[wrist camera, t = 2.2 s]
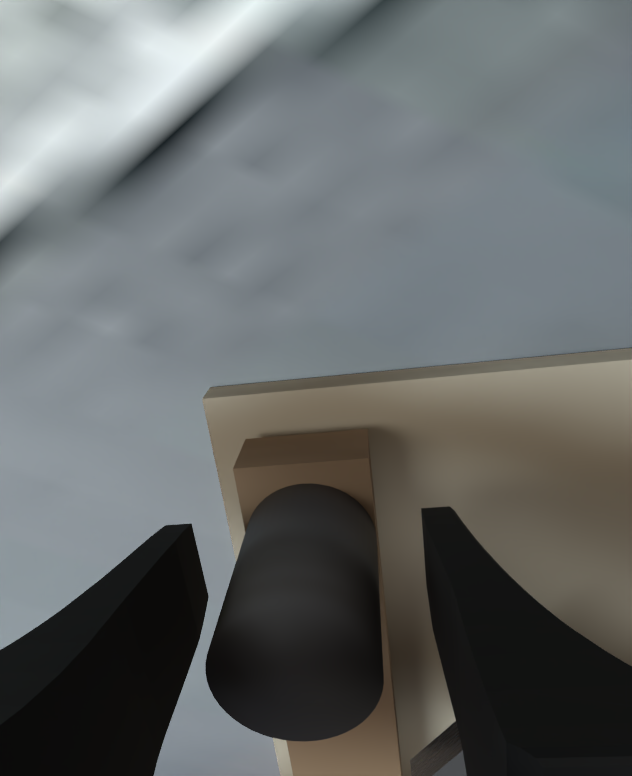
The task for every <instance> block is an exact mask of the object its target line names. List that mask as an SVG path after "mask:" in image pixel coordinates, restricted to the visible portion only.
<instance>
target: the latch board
mask: <svg viewBox="0 0 632 776" xmlns="http://www.w3.org/2000/svg"><path fill="white" fill-rule="evenodd" d="M202 400H203V405H204V409H205V414H206V419H207V424H208V429H209V433H210V438H211V443H212V448H213V453H214V457H215V462H216V467H217V472H218V477H219V482H220V486H221V491H222V496H223V501H224V506H225V510H226V515H227V520H228V525H229V530H230V535H231V539H232V544H233V549H234V554H235V559H236V561H237V558H238V555H239V552H240V549H241V545H242V542H243V539H244V536H245V528H244V523H243V518H242V513H241V508H240V503H239V498H238V493H237V488H236V482H235V477H234V472H233V467H234V465H235V462H236V460H237V458H238V455H239V453H240V451H241V448H242V446H243V443H244V441H245V439H251V438H263V437H275V436H287V435H299V434H311V433H324V432H336V431H348V430H360V429H368V438H369V448H370V458H371V468H372V477H373V487H374V497H375V507H376V517H377V527H378V537H379V547H380V556H381V566H382V576H383V586H384V596H385V606H386V616H387V626H388V635H389V645H390V655H391V665H392V675H393V685H394V695H395V705H396V714H397V724H398V734H399V744H400V754H401V764H402V774H403V776H411V764H410V760H411V759H412V758H413V757H414V756H415V755H417V754H418V753H419V752H420V751H421V750H422V749H424V748H425V747H426V746H427V745H428V744H429V743H431V742H432V741H433V740H434V739H435V738H436V737H438V736H439V735H440V734H441V733H442V732H443V731H445V730H446V729H447V728H448V727H449V726H450V725H452V724H453V723H454V722H455V721H456V719H455V715H454V711H453V707H452V704H451V700H450V696H449V692H448V688H447V684H446V680H445V676H444V672H443V668H442V664H441V660H440V656H439V652H438V649H437V645H436V641H435V637H434V633H433V629H432V622H431V615H430V608H429V600H428V593H427V586H426V572H425V558H424V543H423V529H422V514H421V508H433V507H448V506H450V507H451V508H452V509H453V510H455V512H456V513H457V515H458V516H459V517H460V519H461V520H462V522H463V523H464V524H465V526H466V527H467V528H468V530H469V531H470V532H471V533H472V534H473V536H474V537H475V538H476V539H477V541H478V542H479V543H480V544H481V545H482V546H483V548H484V549H485V550H486V551H487V552H488V553H489V554H490V555H491V556H492V557H493V559H494V560H495V561H496V562H497V563H498V564H499V565H500V566H501V567H502V568H503V569H504V570H505V571H506V572H507V573H508V574H509V575H510V576H511V577H512V578H513V579H514V580H515V581H516V582H517V583H518V584H519V585H520V586H521V587H522V588H523V589H524V590H525V591H527V592H528V593H529V594H530V595H531V596H532V597H533V598H534V599H536V600H537V601H538V602H539V603H540V604H541V605H543V606H544V607H545V608H546V609H547V610H549V611H550V612H551V613H552V614H554V615H555V616H556V617H557V618H559V619H560V620H561V621H563V622H564V623H565V624H567V625H568V626H569V627H571V628H572V629H574V630H575V631H577V632H578V633H580V634H581V635H583V636H584V637H586V638H587V639H589V640H590V641H592V642H593V643H595V644H596V645H598V646H599V647H601V648H602V649H604V650H605V651H607V652H608V653H610V654H612V655H613V656H615V657H617V658H618V659H620V660H622V661H623V662H625V663H627V664H629V665H630V666H632V348H626V349H616V350H605V351H594V352H584V353H573V354H562V355H552V356H541V357H530V358H520V359H509V360H498V361H488V362H477V363H466V364H456V365H445V366H434V367H423V368H413V369H402V370H391V371H381V372H370V373H359V374H349V375H338V376H327V377H317V378H306V379H295V380H285V381H274V382H263V383H253V384H242V385H231V386H221V387H210V388H209V390H208V391H207V393H206V394H205V396H204V397H203V399H202ZM273 741H274V746H275V751H276V756H277V761H278V766H279V770H280V775H281V776H293V772H292V767H291V762H290V757H289V752H288V747H287V742H286V740H281V739H276V738H273Z"/></svg>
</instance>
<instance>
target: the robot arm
mask: <svg viewBox="0 0 632 776" xmlns="http://www.w3.org/2000/svg"><path fill="white" fill-rule="evenodd" d="M421 514H422V529H423V543H424V558H425V572H426V586H427V593H428V600H429V608H430V615H431V622H432V629H433V633H434V637H435V641H436V645H437V649H438V652H439V656H440V660H441V664H442V668H443V672H444V676H445V680H446V684H447V688H448V692H449V696H450V700H451V704H452V707H453V711H454V715H455V719H456V723H457V727H458V731H459V736H460V741H461V746H462V750H463V756H464V762H465V768H466V774H467V776H632V666H630V665H629V664H627V663H625V662H623V661H622V660H620V659H618V658H617V657H615V656H613V655H612V654H610V653H608V652H607V651H605V650H604V649H602V648H601V647H599V646H598V645H596V644H595V643H593V642H592V641H590V640H589V639H587V638H586V637H584V636H583V635H581V634H580V633H578V632H577V631H575V630H574V629H572V628H571V627H569V626H568V625H567V624H565V623H564V622H563V621H561V620H560V619H559V618H557V617H556V616H555V615H554V614H552V613H551V612H550V611H549V610H547V609H546V608H545V607H544V606H543V605H541V604H540V603H539V602H538V601H537V600H536V599H534V598H533V597H532V596H531V595H530V594H529V593H528V592H527V591H525V590H524V589H523V588H522V587H521V586H520V585H519V584H518V583H517V582H516V581H515V580H514V579H513V578H512V577H511V576H510V575H509V574H508V573H507V572H506V571H505V570H504V569H503V568H502V567H501V566H500V565H499V564H498V563H497V562H496V561H495V560H494V559H493V557H492V556H491V555H490V554H489V553H488V552H487V551H486V550H485V549H484V548H483V546H482V545H481V544H480V543H479V542H478V541H477V539H476V538H475V537H474V536H473V534H472V533H471V532H470V531H469V530H468V528H467V527H466V526H465V524H464V523H463V522H462V520H461V519H460V517H459V516H458V515H457V513H456V512H455V510H453V509H452V508H451V507H450V506H448V507H433V508H421ZM207 602H208V593H207V588H206V584H205V580H204V575H203V571H202V567H201V563H200V558H199V554H198V550H197V546H196V541H195V537H194V533H193V528H192V524H180V525H166V526H164V527H163V528H162V529H160V530H159V531H158V532H156V533H155V534H154V535H153V536H151V537H150V538H149V539H148V540H147V541H145V542H144V543H143V544H142V545H141V546H140V547H138V548H137V549H136V550H135V551H134V552H133V553H131V554H130V555H129V556H128V557H127V558H126V559H124V560H123V561H122V562H121V563H120V564H118V565H117V566H116V567H115V568H114V569H112V570H111V571H110V572H109V573H108V574H107V575H105V576H104V577H103V578H102V579H101V580H99V581H98V582H97V583H95V584H94V585H93V586H92V587H90V588H89V589H88V590H86V591H85V592H84V593H83V594H81V595H80V596H79V597H78V598H76V599H75V600H74V601H72V602H71V603H70V604H69V605H67V606H66V607H65V608H63V609H62V610H61V611H59V612H58V613H56V614H55V615H54V616H52V617H51V618H49V619H48V620H47V621H45V622H44V623H42V624H41V625H39V626H38V627H36V628H35V629H33V630H32V631H30V632H29V633H27V634H26V635H24V636H23V637H21V638H20V639H18V640H16V641H15V642H13V643H12V644H10V645H8V646H7V647H5V648H3V649H1V650H0V776H153V775H154V771H155V767H156V763H157V759H158V756H159V753H160V750H161V747H162V743H163V740H164V737H165V734H166V731H167V729H168V726H169V723H170V720H171V718H172V715H173V712H174V709H175V706H176V704H177V701H178V698H179V695H180V693H181V690H182V687H183V684H184V682H185V679H186V676H187V673H188V670H189V668H190V665H191V662H192V659H193V656H194V653H195V651H196V648H197V645H198V642H199V639H200V634H201V630H202V626H203V621H204V617H205V612H206V607H207Z"/></svg>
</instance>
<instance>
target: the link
mask: <svg viewBox="0 0 632 776" xmlns="http://www.w3.org/2000/svg"><path fill="white" fill-rule="evenodd" d="M233 472H234V477H235V482H236V488H237V493H238V498H239V503H240V508H241V513H242V518H243V523H244V528H245V536H244V539H243V542H242V545H241V549H240V552H239V555H238V558H237V561H236V564H235V568H234V571H233V574H232V577H231V580H230V584H229V587H228V590H227V593H226V596H225V600H224V603H223V606H222V609H221V612H220V616H219V619H218V622H217V625H216V628H215V631H214V635H213V638H212V641H211V644H210V647H209V651H208V654H207V659H206V677H207V682H208V685H209V688H210V690H211V692H212V694H213V696H214V698H215V699H216V701H217V702H218V703H219V705H220V706H221V707H222V708H223V709H224V710H225V711H226V713H228V714H229V715H230V716H231V717H232V718H233V719H235V720H236V721H238V722H239V723H240V724H242V725H244V726H245V727H247V728H249V729H251V730H253V731H255V732H258V733H260V734H262V735H266V736H269V737H272V738H276V739H281V740H286V742H287V747H288V752H289V757H290V762H291V767H292V772H293V776H403V774H402V764H401V754H400V744H399V734H398V724H397V714H396V705H395V695H394V685H393V675H392V665H391V655H390V645H389V635H388V626H387V616H386V606H385V596H384V586H383V576H382V566H381V556H380V547H379V537H378V527H377V517H376V507H375V497H374V487H373V477H372V468H371V458H370V448H369V438H368V429H360V430H348V431H336V432H324V433H311V434H299V435H287V436H275V437H263V438H251V439H245V441H244V443H243V446H242V448H241V451H240V453H239V455H238V458H237V460H236V462H235V465H234V467H233Z"/></svg>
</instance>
